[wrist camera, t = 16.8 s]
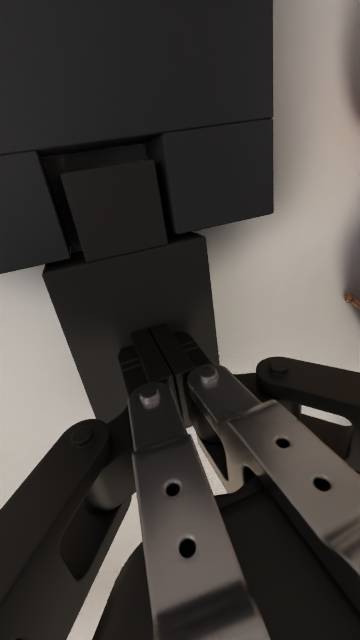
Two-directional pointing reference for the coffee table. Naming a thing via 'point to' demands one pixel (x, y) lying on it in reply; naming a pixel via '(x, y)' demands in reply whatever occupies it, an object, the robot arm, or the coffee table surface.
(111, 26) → the graphite pad
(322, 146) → the coffee table surface
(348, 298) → the alarm clock
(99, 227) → the black pad
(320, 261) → the coffee table surface
